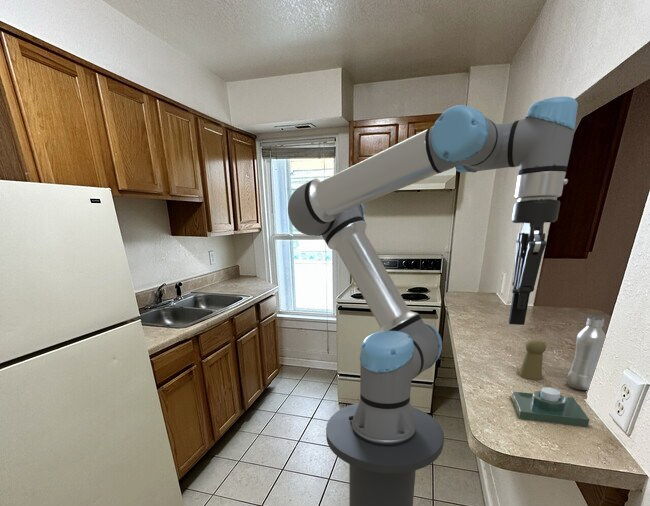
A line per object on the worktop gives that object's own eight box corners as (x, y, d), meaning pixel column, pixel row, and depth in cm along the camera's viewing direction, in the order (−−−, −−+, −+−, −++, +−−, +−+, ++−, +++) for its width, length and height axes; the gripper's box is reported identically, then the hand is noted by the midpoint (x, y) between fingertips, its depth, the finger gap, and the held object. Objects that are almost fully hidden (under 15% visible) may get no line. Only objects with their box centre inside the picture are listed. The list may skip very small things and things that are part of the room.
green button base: (519, 418, 84) (522, 403, 83) (511, 398, 94) (513, 384, 93) (587, 427, 80) (591, 411, 79) (571, 404, 90) (575, 390, 88)
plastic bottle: (592, 385, 100) (610, 317, 93) (593, 395, 94) (612, 323, 87) (565, 380, 103) (581, 314, 96) (564, 389, 98) (581, 319, 91)
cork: (541, 381, 103) (548, 345, 100) (518, 377, 106) (524, 342, 103) (541, 373, 108) (549, 339, 104) (519, 370, 111) (525, 337, 107)
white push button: (542, 401, 85) (543, 393, 84) (537, 394, 88) (539, 386, 87) (561, 403, 83) (562, 395, 83) (556, 395, 87) (557, 388, 86)
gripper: (572, 196, 58) (544, 333, 66) (550, 201, 70) (529, 317, 78) (521, 198, 60) (501, 331, 68) (508, 202, 72) (492, 315, 80)
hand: (516, 323), depth 73 cm, fingers closed
